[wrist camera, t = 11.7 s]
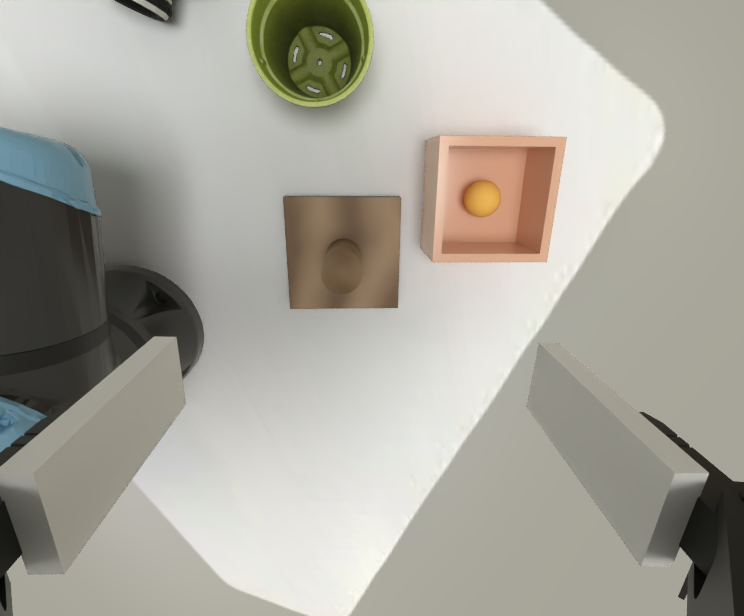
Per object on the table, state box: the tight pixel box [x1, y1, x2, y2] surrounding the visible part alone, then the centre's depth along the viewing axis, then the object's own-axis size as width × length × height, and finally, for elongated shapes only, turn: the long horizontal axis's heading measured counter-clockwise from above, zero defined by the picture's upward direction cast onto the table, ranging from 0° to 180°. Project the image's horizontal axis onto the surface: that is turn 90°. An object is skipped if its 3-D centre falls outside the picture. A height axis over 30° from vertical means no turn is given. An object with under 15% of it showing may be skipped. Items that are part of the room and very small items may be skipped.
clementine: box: [464, 180, 501, 217], centre depth 40 cm, size 4×4×4 cm
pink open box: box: [421, 135, 567, 262], centre depth 39 cm, size 11×11×7 cm
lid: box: [283, 196, 401, 309], centre depth 39 cm, size 12×12×9 cm
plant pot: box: [246, 0, 374, 107], centre depth 34 cm, size 9×9×9 cm
